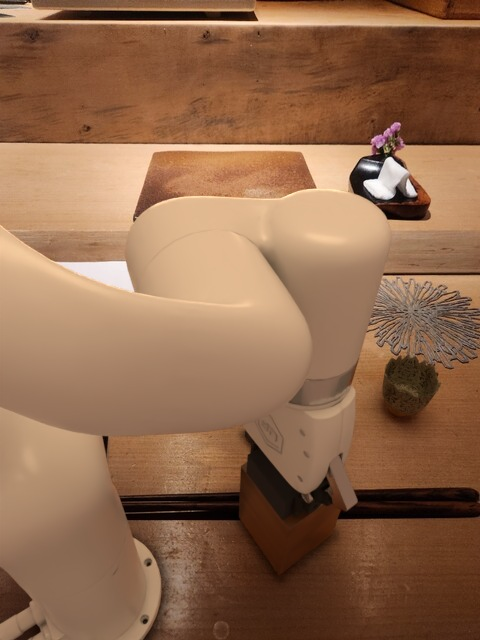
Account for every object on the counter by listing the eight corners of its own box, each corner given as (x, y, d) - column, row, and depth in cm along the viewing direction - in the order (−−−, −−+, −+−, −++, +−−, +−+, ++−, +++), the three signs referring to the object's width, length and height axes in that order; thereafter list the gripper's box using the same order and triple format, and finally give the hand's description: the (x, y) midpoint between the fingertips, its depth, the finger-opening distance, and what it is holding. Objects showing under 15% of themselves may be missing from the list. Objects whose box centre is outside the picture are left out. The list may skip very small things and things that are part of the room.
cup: (426, 434, 65) (444, 400, 60) (373, 425, 66) (386, 390, 61) (421, 394, 71) (438, 358, 65) (373, 386, 72) (385, 350, 66)
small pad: (282, 520, 44) (285, 503, 41) (246, 472, 47) (247, 454, 45) (350, 472, 48) (356, 454, 45) (312, 431, 51) (316, 412, 49)
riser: (278, 575, 51) (288, 529, 43) (238, 517, 56) (240, 465, 48) (331, 534, 55) (350, 485, 47) (289, 482, 60) (299, 429, 51)
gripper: (201, 311, 38) (207, 436, 50) (351, 472, 27) (312, 580, 39) (273, 281, 41) (262, 405, 53) (432, 414, 31) (373, 530, 43)
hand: (284, 478), depth 46 cm, fingers closed on small pad, 6 cm apart
